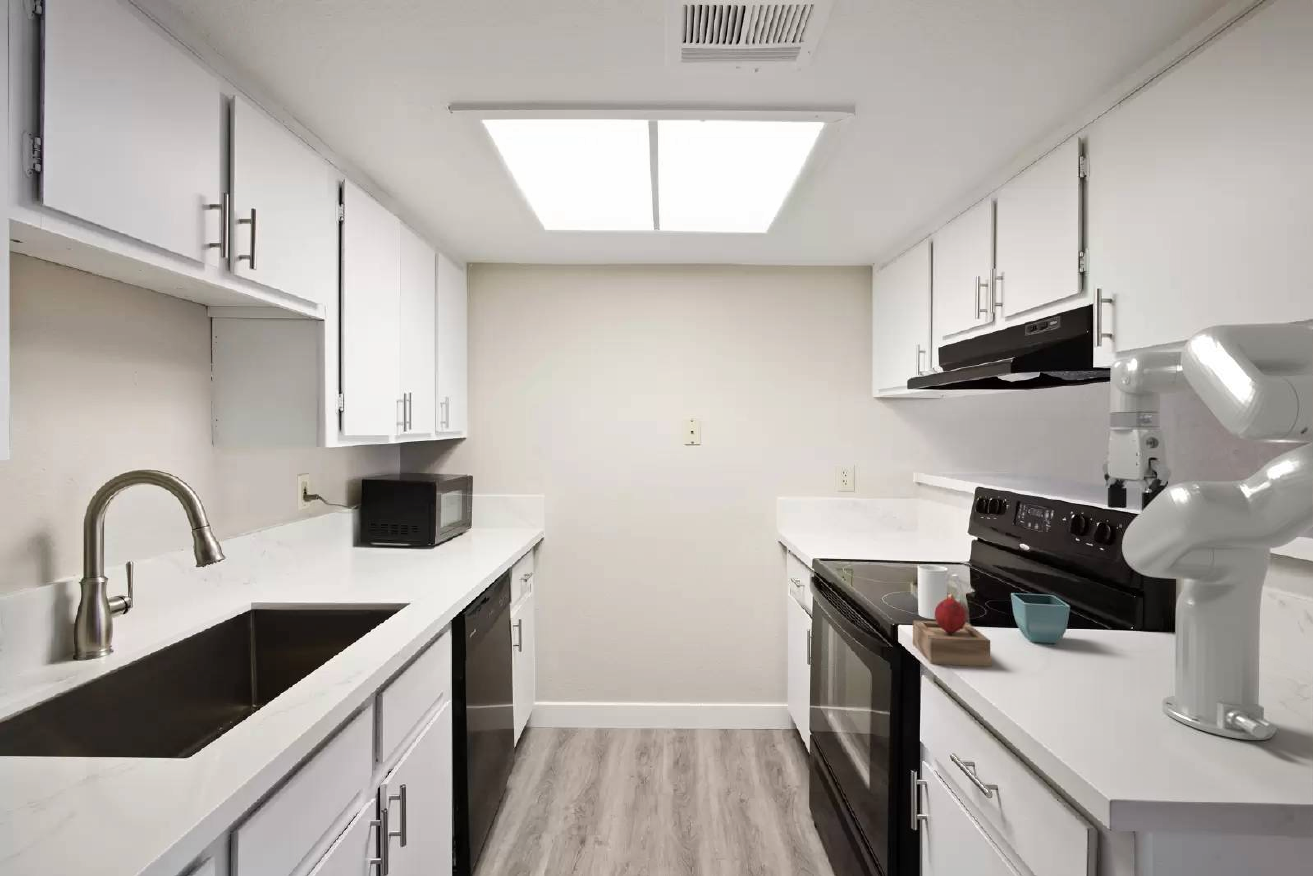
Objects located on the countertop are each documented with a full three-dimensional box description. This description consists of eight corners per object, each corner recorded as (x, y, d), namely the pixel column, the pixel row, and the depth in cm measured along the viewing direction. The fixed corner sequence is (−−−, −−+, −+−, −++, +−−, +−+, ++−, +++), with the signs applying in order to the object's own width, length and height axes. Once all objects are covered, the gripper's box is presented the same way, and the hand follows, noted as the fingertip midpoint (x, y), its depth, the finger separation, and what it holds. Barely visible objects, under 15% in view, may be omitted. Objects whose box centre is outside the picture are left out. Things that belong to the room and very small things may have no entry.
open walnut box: (990, 666, 113) (990, 640, 113) (930, 663, 114) (930, 638, 114) (966, 646, 124) (967, 622, 124) (912, 643, 125) (913, 620, 125)
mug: (916, 617, 144) (916, 568, 144) (918, 610, 150) (918, 563, 150) (962, 624, 139) (962, 573, 139) (962, 616, 145) (962, 568, 145)
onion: (970, 639, 116) (970, 599, 116) (938, 637, 117) (939, 597, 117) (961, 630, 122) (961, 591, 122) (931, 628, 123) (931, 590, 123)
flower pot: (1024, 645, 125) (1024, 603, 125) (1009, 631, 134) (1009, 592, 134) (1070, 648, 123) (1071, 606, 123) (1053, 635, 132) (1053, 595, 132)
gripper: (1191, 421, 104) (1190, 517, 104) (1125, 423, 121) (1124, 506, 121) (1145, 421, 105) (1144, 516, 105) (1086, 423, 122) (1085, 505, 122)
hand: (1133, 510), depth 113 cm, fingers open, 9 cm apart
